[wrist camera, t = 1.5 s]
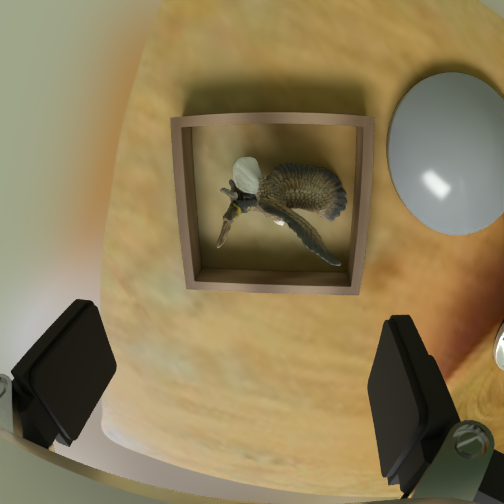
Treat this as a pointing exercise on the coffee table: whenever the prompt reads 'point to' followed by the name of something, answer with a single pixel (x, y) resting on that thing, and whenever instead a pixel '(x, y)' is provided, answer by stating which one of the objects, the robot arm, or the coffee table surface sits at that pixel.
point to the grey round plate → (449, 153)
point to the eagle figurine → (285, 199)
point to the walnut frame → (261, 278)
